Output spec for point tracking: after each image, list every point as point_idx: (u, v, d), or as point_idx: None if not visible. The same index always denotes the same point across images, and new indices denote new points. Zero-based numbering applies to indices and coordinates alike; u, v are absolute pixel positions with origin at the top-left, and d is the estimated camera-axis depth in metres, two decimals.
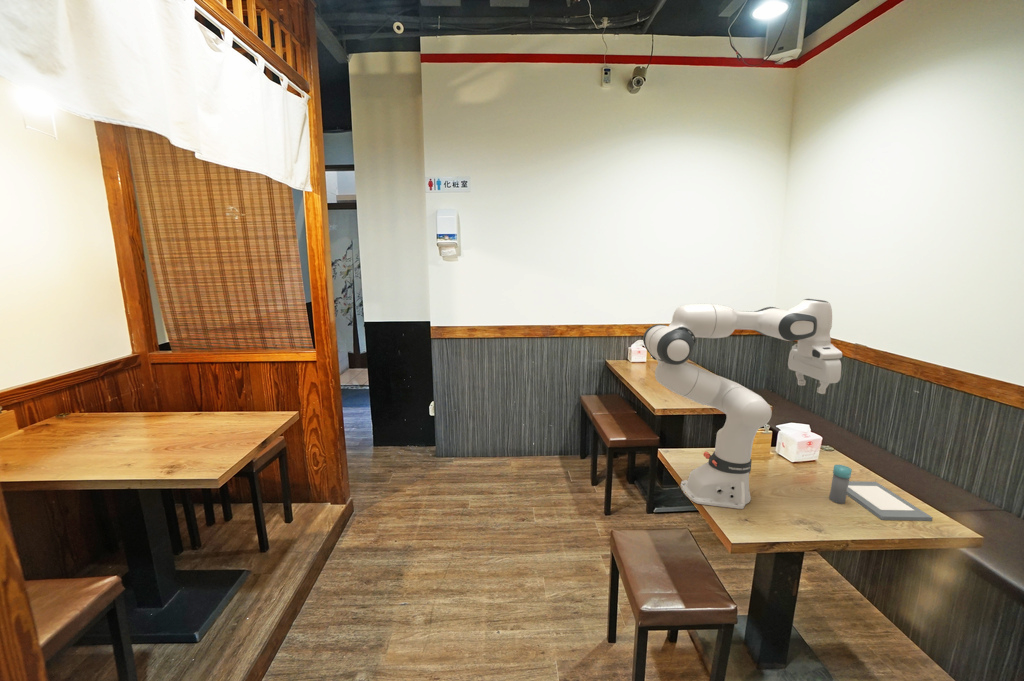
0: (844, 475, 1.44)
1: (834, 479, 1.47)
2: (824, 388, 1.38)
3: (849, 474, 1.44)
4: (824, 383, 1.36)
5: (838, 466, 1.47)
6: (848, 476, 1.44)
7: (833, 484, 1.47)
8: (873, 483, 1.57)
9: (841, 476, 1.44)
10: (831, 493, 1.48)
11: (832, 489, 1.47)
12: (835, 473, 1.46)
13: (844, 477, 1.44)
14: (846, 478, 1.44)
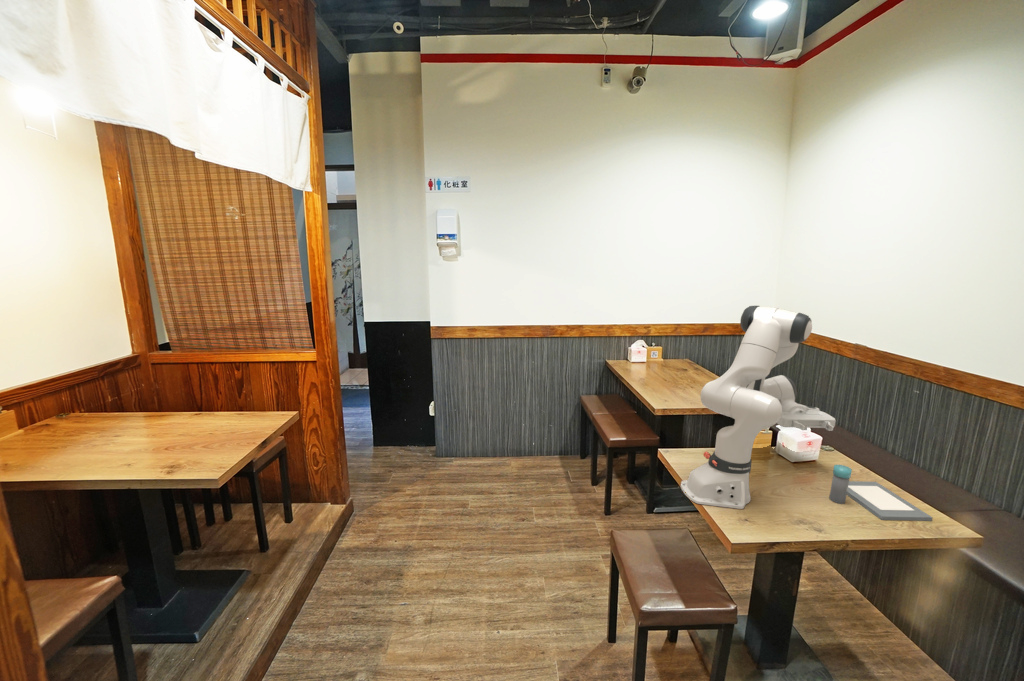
0: (844, 475, 1.44)
1: (834, 479, 1.47)
2: None
3: (849, 474, 1.44)
4: None
5: (838, 466, 1.47)
6: (848, 476, 1.44)
7: (833, 484, 1.47)
8: (873, 483, 1.57)
9: (841, 476, 1.44)
10: (831, 493, 1.48)
11: (832, 489, 1.47)
12: (835, 473, 1.46)
13: (844, 477, 1.44)
14: (846, 478, 1.44)
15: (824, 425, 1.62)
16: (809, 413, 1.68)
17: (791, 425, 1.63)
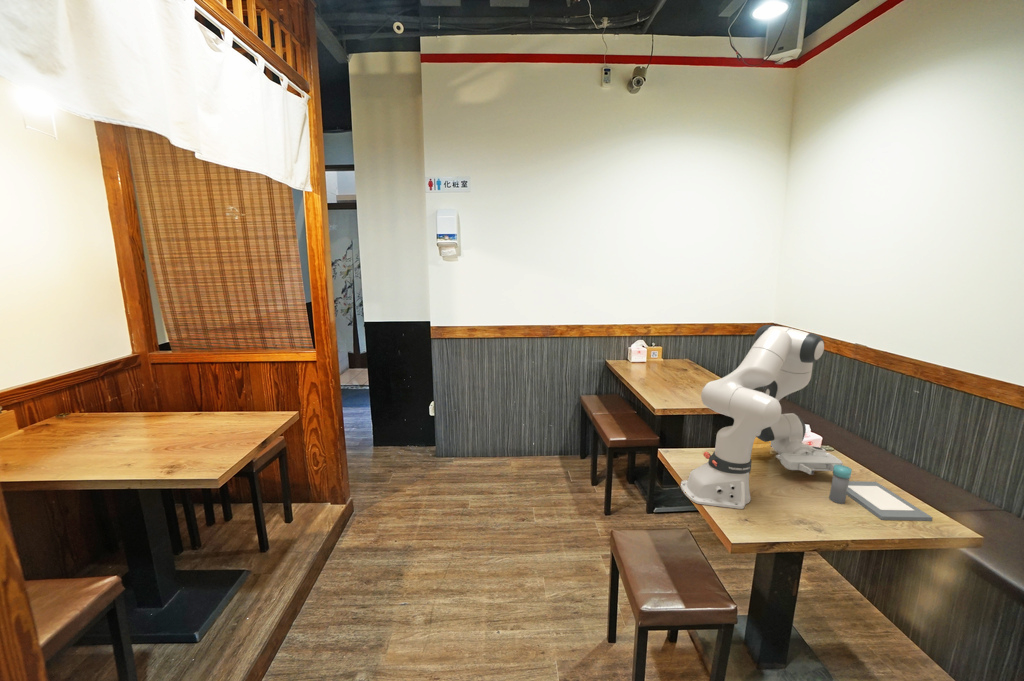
0: (844, 475, 1.44)
1: (834, 479, 1.47)
2: None
3: (849, 474, 1.44)
4: None
5: (838, 466, 1.47)
6: (848, 476, 1.44)
7: (833, 484, 1.47)
8: (873, 483, 1.57)
9: (841, 476, 1.44)
10: (831, 493, 1.48)
11: (832, 489, 1.47)
12: (835, 473, 1.46)
13: (844, 477, 1.44)
14: (846, 478, 1.44)
15: (831, 468, 1.58)
16: (815, 454, 1.64)
17: (797, 468, 1.58)
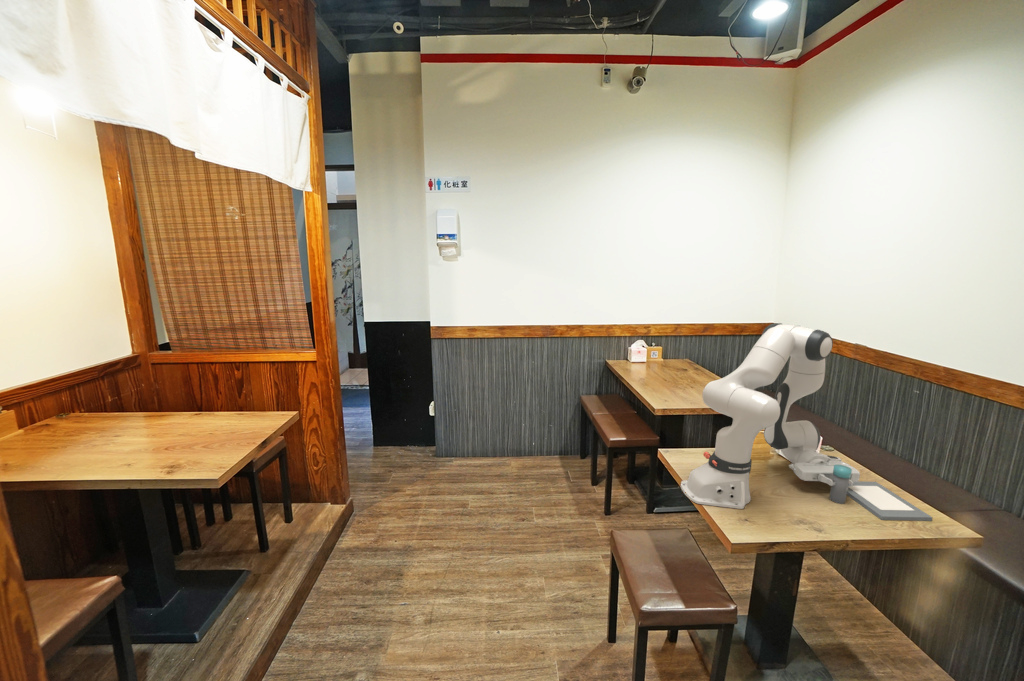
0: (844, 475, 1.44)
1: (834, 479, 1.47)
2: None
3: (849, 474, 1.44)
4: None
5: (838, 466, 1.47)
6: (848, 476, 1.44)
7: None
8: (873, 483, 1.57)
9: (841, 476, 1.44)
10: (831, 493, 1.48)
11: (832, 489, 1.47)
12: (835, 473, 1.46)
13: (844, 477, 1.44)
14: (846, 478, 1.44)
15: None
16: (831, 464, 1.56)
17: (812, 479, 1.51)
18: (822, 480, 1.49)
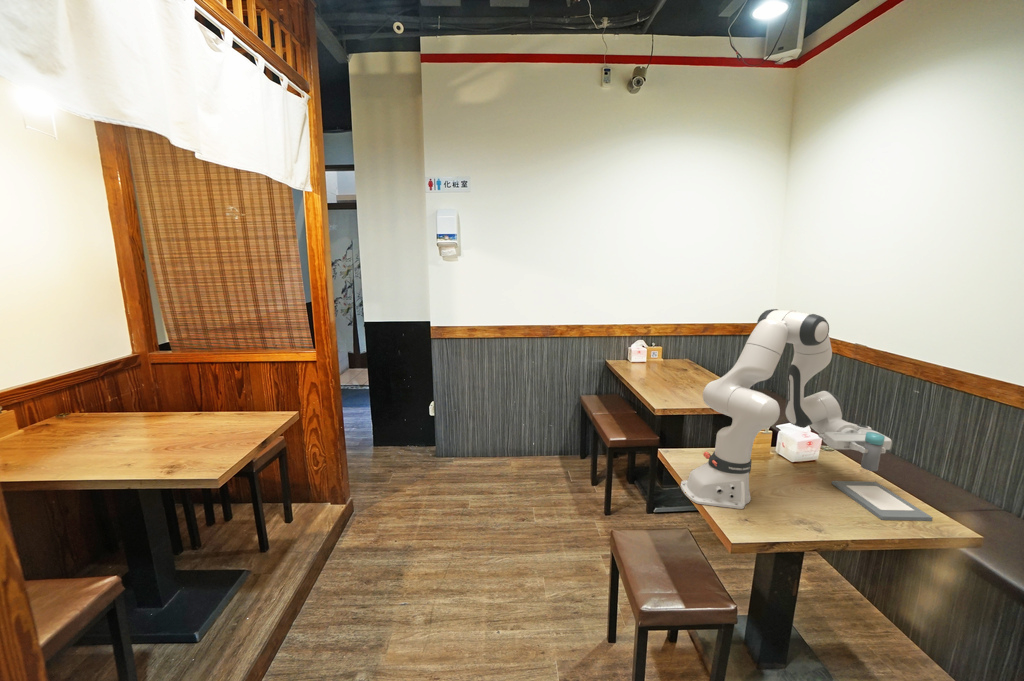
0: (877, 442, 1.42)
1: (866, 446, 1.44)
2: None
3: (883, 441, 1.42)
4: None
5: (870, 433, 1.45)
6: (881, 443, 1.42)
7: None
8: (873, 483, 1.57)
9: (874, 443, 1.42)
10: (863, 460, 1.46)
11: (864, 457, 1.45)
12: (867, 440, 1.44)
13: (877, 444, 1.42)
14: (879, 444, 1.42)
15: None
16: (861, 433, 1.54)
17: (843, 447, 1.49)
18: (854, 448, 1.47)
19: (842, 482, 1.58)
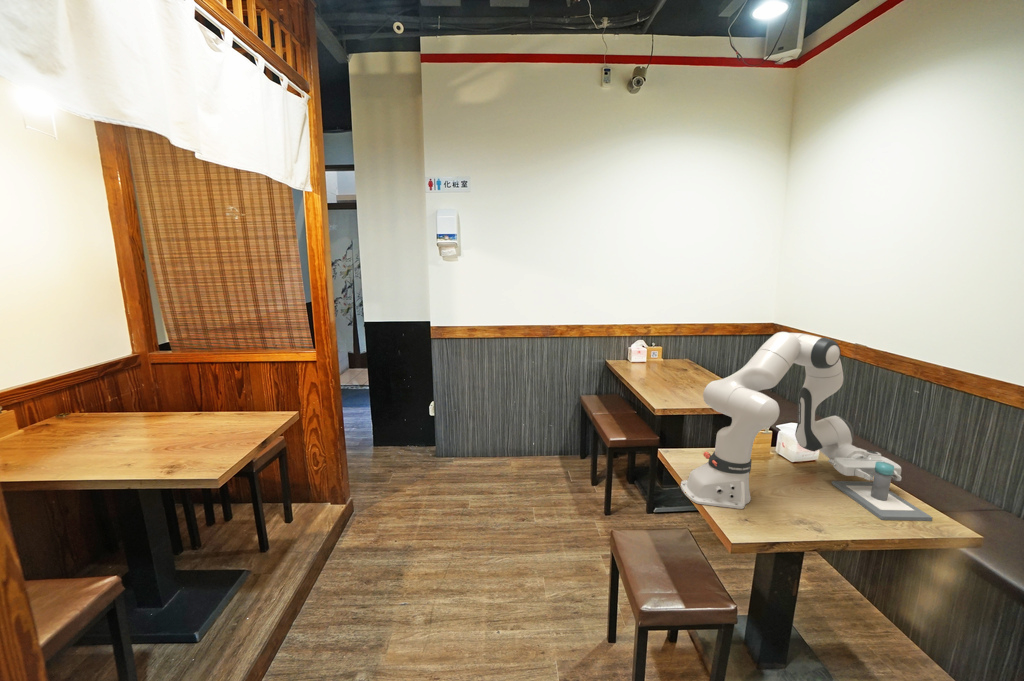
0: (887, 472, 1.43)
1: (876, 476, 1.46)
2: None
3: (892, 471, 1.43)
4: None
5: (880, 463, 1.46)
6: (891, 473, 1.43)
7: (875, 481, 1.47)
8: None
9: (884, 473, 1.44)
10: (872, 490, 1.48)
11: (874, 486, 1.47)
12: (877, 470, 1.45)
13: (887, 474, 1.44)
14: (889, 475, 1.44)
15: None
16: (871, 459, 1.55)
17: (854, 473, 1.50)
18: (859, 475, 1.48)
19: (842, 482, 1.58)
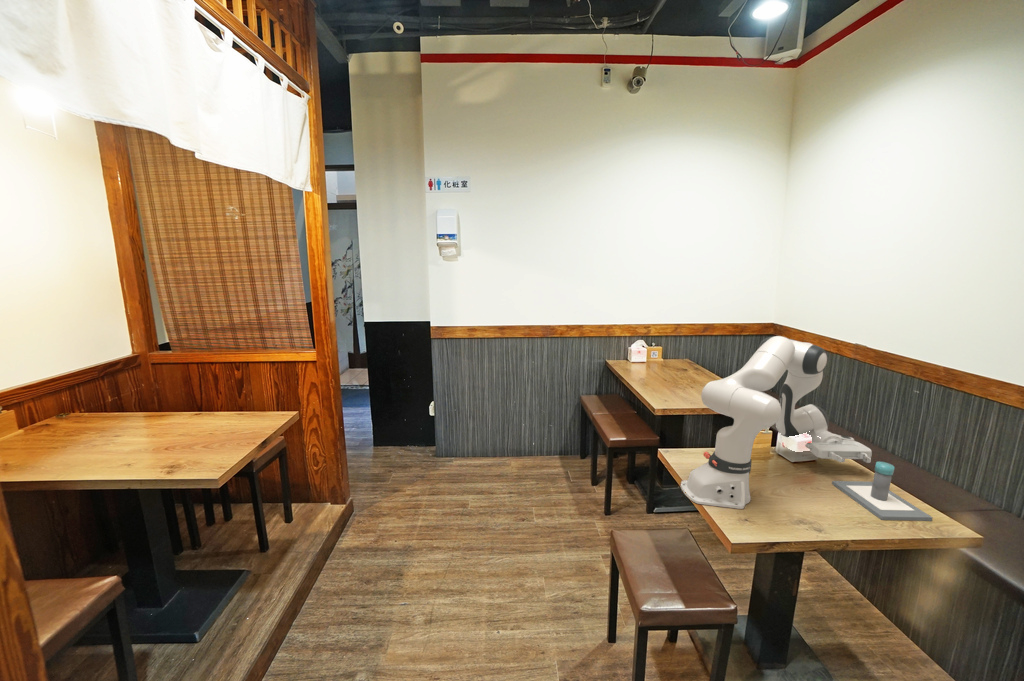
0: (887, 472, 1.44)
1: (876, 476, 1.46)
2: None
3: (892, 471, 1.43)
4: None
5: (880, 463, 1.46)
6: (891, 473, 1.43)
7: (875, 481, 1.47)
8: None
9: (884, 473, 1.44)
10: (872, 490, 1.48)
11: (874, 486, 1.47)
12: (877, 470, 1.46)
13: (887, 474, 1.44)
14: (889, 475, 1.44)
15: (861, 456, 1.62)
16: (844, 443, 1.68)
17: (828, 456, 1.63)
18: (832, 457, 1.61)
19: (842, 482, 1.58)
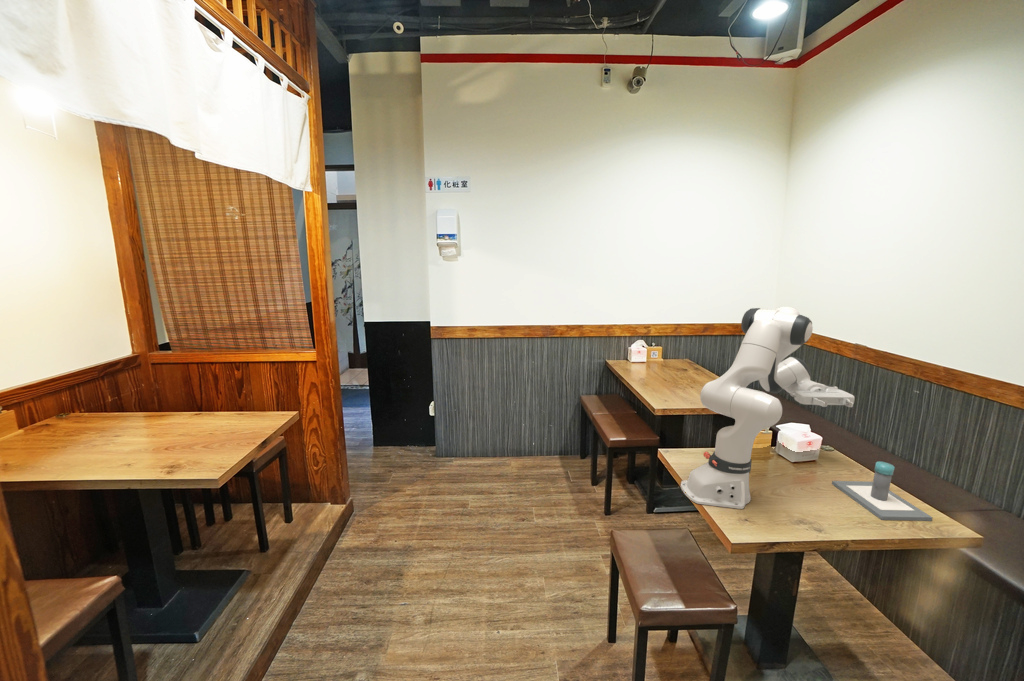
0: (887, 472, 1.44)
1: (876, 476, 1.46)
2: None
3: (892, 471, 1.43)
4: None
5: (880, 463, 1.46)
6: (891, 473, 1.43)
7: (875, 481, 1.47)
8: None
9: (884, 473, 1.44)
10: (872, 490, 1.48)
11: (874, 486, 1.47)
12: (877, 470, 1.46)
13: (887, 474, 1.44)
14: (889, 475, 1.44)
15: (843, 402, 1.64)
16: (828, 391, 1.70)
17: (811, 402, 1.65)
18: (815, 403, 1.63)
19: (842, 482, 1.58)
